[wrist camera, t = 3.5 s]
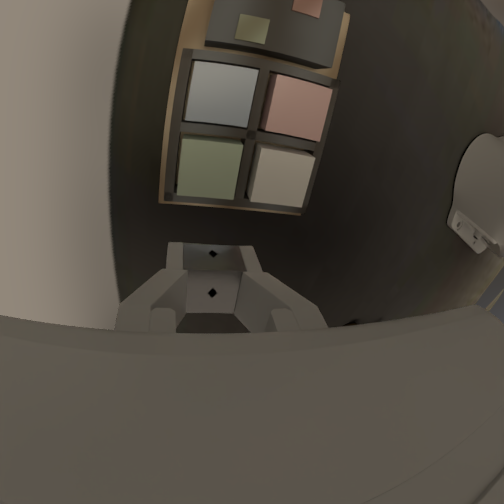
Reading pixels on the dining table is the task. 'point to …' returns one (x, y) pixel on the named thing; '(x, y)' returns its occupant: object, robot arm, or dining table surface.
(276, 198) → the offwhite key
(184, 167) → the sage key
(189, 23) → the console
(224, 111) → the slate key
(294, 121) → the rose key
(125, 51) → the dining table surface
